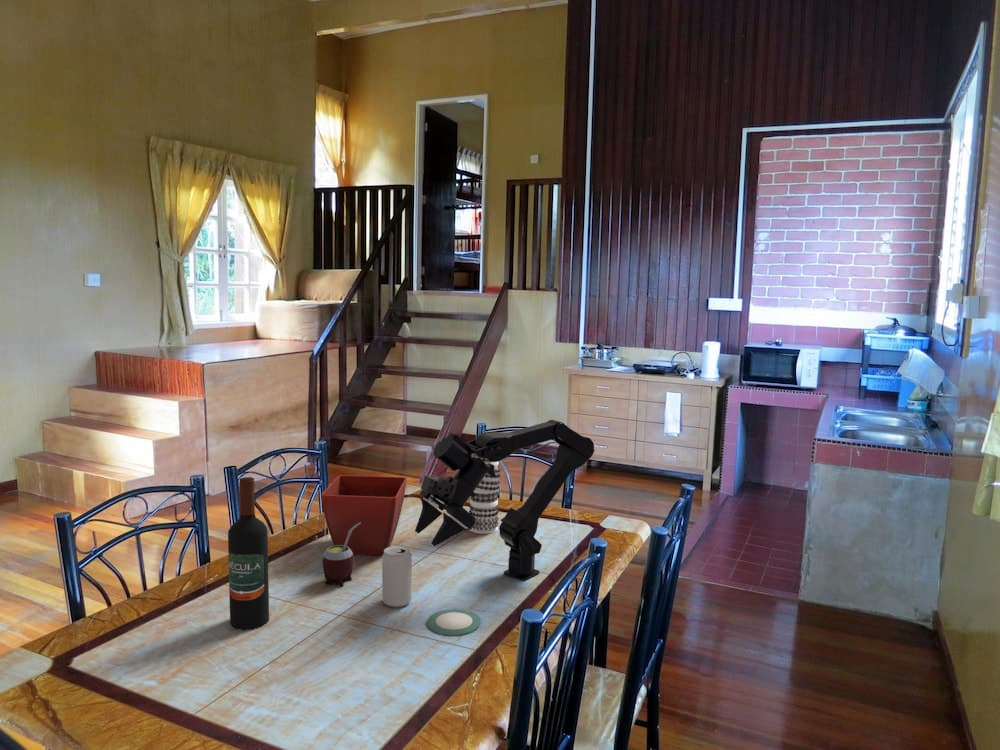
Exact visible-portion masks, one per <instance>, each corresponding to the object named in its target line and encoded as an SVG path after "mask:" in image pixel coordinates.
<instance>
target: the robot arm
mask: <svg viewBox="0 0 1000 750" xmlns="http://www.w3.org/2000/svg"><path fill="white" fill-rule="evenodd" d="M552 440H553V441H554V442H555V443H556V444H557V445H558V447H557V448H556V449H557V450H556V456H555V460H554V462H553V463H552V465H550V467H549V469H548V470H547V472H545V474H544V476H543V477H542V479H541V480H540V482H538V484H537V485H536V487H535V488H534V490H533V491H532V493H531V494H530V495H529V496H528V497H527V499H526V501H525V502H524V504H523V505H522V506H521V507H519V508H517V509H515V508H513V507H510V508H509V509H508V511H507V512H506V514H505V516H504V517H502V518H501V519H500V522H501V523H500V524H499V527H498V530H499V536H500V538H501V539H502V540H503V541H504V544H505V546H508V547H509V548H510V550H508V551H509V553H508V566H507V567H508V568H507V569H506V570H504V571H503V574H504V575H507V576H510V577H513V578H515V579H518V580H522V581H526V580H528V579H530V578H533V577H534V576H536V575H538V574H539V573H540V570H538V569H535V564H536V563H535V561H536V559H535V558H536V557H535V556H536V555H537V554H538V555H539V554H540V553H541V550H542V547H543V546H542V543H541V542H539V540H537V538H535V535H536V534H537V531H538V526H539V525H538V524H539V519H540V518H541V516H542V515H543V513H544V512H545V510H546V509H547V507H548V506H549V505H550V503H551V502H552V500H553V499H554V498H555V496H556V494H558V492H559V491H560V489H561V488H562V487H563V485H564V484H565V482H566V480H567V479H569V477H570V475H571V473H573V472H574V471H576V470H578V469H579V468H581V467H582V466H584V465H585V464H586V463H587V462H588V461H589V460H590V459H591V458H592V456H593V455H594V453H595V445H594V441H593V440H592V438H590V437H587V436H584V435H581V434H579V433H578V432H576V431H575V430H573V429H571V428H570V426H568V425H566V424H565V423H564V422H562V421H559V420H555V419H549V420H547V421H545V422H542V423H538V424H534V425H531V426H527V427H524V428H520V429H516V430H512V431H509V432H508V431H506V432H501V431H499V432H498V431H493V432H483V433H480V434H479V435H477V437H476V438H475V439H472V440H469V441H466V442H465V441H464V440H462V439H461V437H460V436H459V435H457V433H454V432H451V433H450V434H449V435H448V436H446V437H444V438H442V439H441V440H440V441H438V442H437V444H436V445H435V448H434V449H433V456H434V457H435V458H436V459H437V460H438V461H440V462H441V463H442V464H444V465H445V466H446V467H447V468H449V470H451V471H452V472H453V471H454V472H456V471H457V472H456V473H455V474H454V476H450V475H449V476H447V477H446V478H443V477H439V478H438V477H436V476H435V477H434V476H430V475H427V474H425V475H424V478H423V480H422V482H421V483H422V484H421V487H420V489H421V491H420V493H419V495H420V498H419V499H420V501H421V506H422V509H421V512H420V514H419V518H418V520H417V524H416V526H415V530H414V531H415V532H416V533H417V534H420V533H421V532H422V531H424V530H425V529H427V527H429V526H430V525H431V524H432V523H433V522H434V521H436V520H437V519H438V518H439V517H441V516H442V515H443V516H442V518H443V521H442V523H441V525H440V526H439V528H438V529H437V532H436V533H435V535H434V537H433V538H432V540H431V545H432V546H433V547H436V546H438V545H440V544H441V543H444V542H445V541H447V540H449V539H450V538H452V537H454V536H456V535H458V534H460V533H462V532H467V531H468V530H469V529H470V530H471V529H472V528H473V526H474V525H475V523H476V520H475V517H474V516H473V515H471V514H470V513H469V511H468V510H466V509H465V508H464V506H465V504H466V503H467V501H468V500H469V499H471V497H472V498H474V497H475V495H476V494H475V493H474V491H475V489H476V488H477V486H478V485H479V484H480V482H481V481H482V479H483V478H484V477H485V475H486V474H488V475H490V476H492V477H495V471H494V465H492V464H490V463H488V464H486V463H485V462H484V461H483V460H481V459H480V458H485V459H487V460H489V461H491V462H498V461H499V462H501V461H502V460H504V459H506V458H509V457H510V456H511V455H512V454H513V453H514V452H516V451H517V450H521V449H524V448H527V447H531V446H535V445H538V444H541V443H544V442H545V443H546V442H548V441H552ZM472 454H473V455H476V456H478V457H480V458H475V459H474V458H473V457H472ZM442 511H443V512H442ZM445 512H446V513H447V514H446V513H445ZM470 530H469V531H470Z"/></svg>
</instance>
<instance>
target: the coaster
mask: <svg viewBox="0 0 1000 750" xmlns="http://www.w3.org/2000/svg"><path fill="white" fill-rule="evenodd" d="M426 621H427V622H426V624H427V627H428V629H430V631H432V632H434V633H437V634H439V635H442V636H443V635H444V636H449V637H450V636H453V637H457V636H458V637H459V636H464V635H468V634H471V633H473V631H474V632H476V631H477V630H478V629H479V628H480V627H481V621H482V620H481V618H480V616H479V615H478V614H476V613H474V612H472V611H470V610H465V609H459V608H458V609H456V608H455V609H453V608H452V609H444V610H439V611H437V612H434V613H433V614H431V615H430V616H429V617H428V619H427V620H426ZM479 626H480V627H479Z"/></svg>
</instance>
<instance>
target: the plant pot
mask: <svg viewBox="0 0 1000 750" xmlns="http://www.w3.org/2000/svg"><path fill="white" fill-rule="evenodd" d="M328 485H329V486H328V487H326V488H325V489H324V491H323V492H322V493H321V494H320V497H321V498H320V499H321V503H322V510H323V515H324V519H325V522H326V526H327V530H328V533H329V536H330V539H331V542H332V544H333V545H332V546H336V545H344V544H345V541H346V538H347V536H348V532H349V530H350V529H351V528H352V527H353V526H355V525H356V524H358V523H360V522H361V524H359V525H358V526H357V527H356V528H354V529H353V530H352V533H351V535H350V537H349V540H348V543H347V545H346V546H348V547H349V548H350V549H351V551H352V552H353V556H354V555H359V556H361V555H362V556H383V554H384V550H385V549H386V548H388V547H391V544H392V543H393V540H394V538H395V534H396V532H397V527H398V525H399V521H400V517H401V514H402V510H403V509H402V508H403V505H404V504H403V503H404V498H405V494H406V489H407V488H406V487H407V477H406V476H405V477H404V476H402V477H401V476H381V475H380V476H379V475H378V476H376V475H351V474H350V475H348V474H346V475H345V474H344V475H343V474H342V475H341V474H340V475H337V477H336V478H335V479H334V480H333V481H332V482H331V483H330V484H328Z"/></svg>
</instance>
